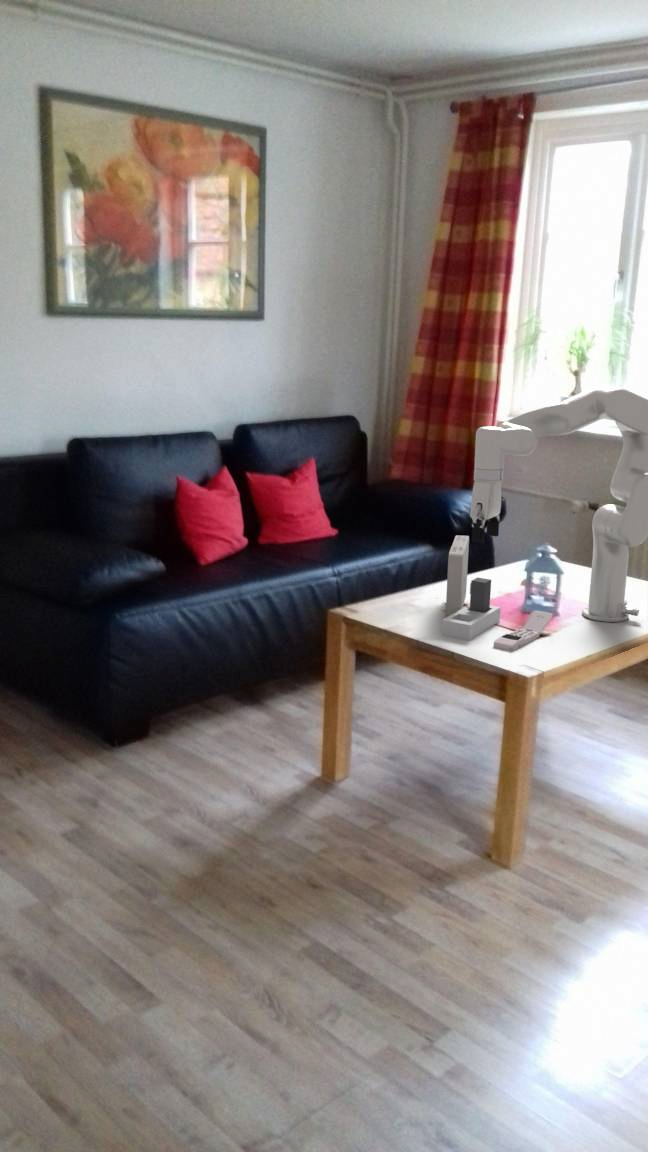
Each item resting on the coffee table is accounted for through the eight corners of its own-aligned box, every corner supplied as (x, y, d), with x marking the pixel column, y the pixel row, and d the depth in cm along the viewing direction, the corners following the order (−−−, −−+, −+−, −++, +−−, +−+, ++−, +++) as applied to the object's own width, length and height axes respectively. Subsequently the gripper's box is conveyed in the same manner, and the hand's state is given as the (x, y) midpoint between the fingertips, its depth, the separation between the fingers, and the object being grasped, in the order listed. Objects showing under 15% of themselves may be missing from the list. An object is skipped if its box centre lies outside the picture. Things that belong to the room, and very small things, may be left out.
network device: (467, 627, 275) (471, 555, 270) (434, 625, 277) (438, 553, 272) (473, 602, 299) (477, 535, 294) (443, 600, 301) (446, 533, 296)
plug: (488, 622, 276) (491, 579, 273) (482, 626, 273) (485, 582, 270) (473, 619, 279) (475, 577, 276) (466, 623, 276) (469, 580, 272)
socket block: (499, 624, 278) (500, 606, 277) (469, 643, 262) (470, 624, 260) (472, 619, 282) (473, 601, 281) (441, 638, 266) (441, 619, 264)
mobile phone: (554, 613, 270) (510, 634, 251) (553, 634, 272) (509, 657, 252) (533, 609, 274) (488, 630, 254) (532, 630, 275) (487, 653, 256)
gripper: (488, 469, 275) (484, 531, 279) (461, 477, 261) (458, 543, 265) (514, 471, 271) (510, 535, 275) (489, 480, 257) (485, 547, 261)
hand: (485, 539), depth 270 cm, fingers open, 9 cm apart
